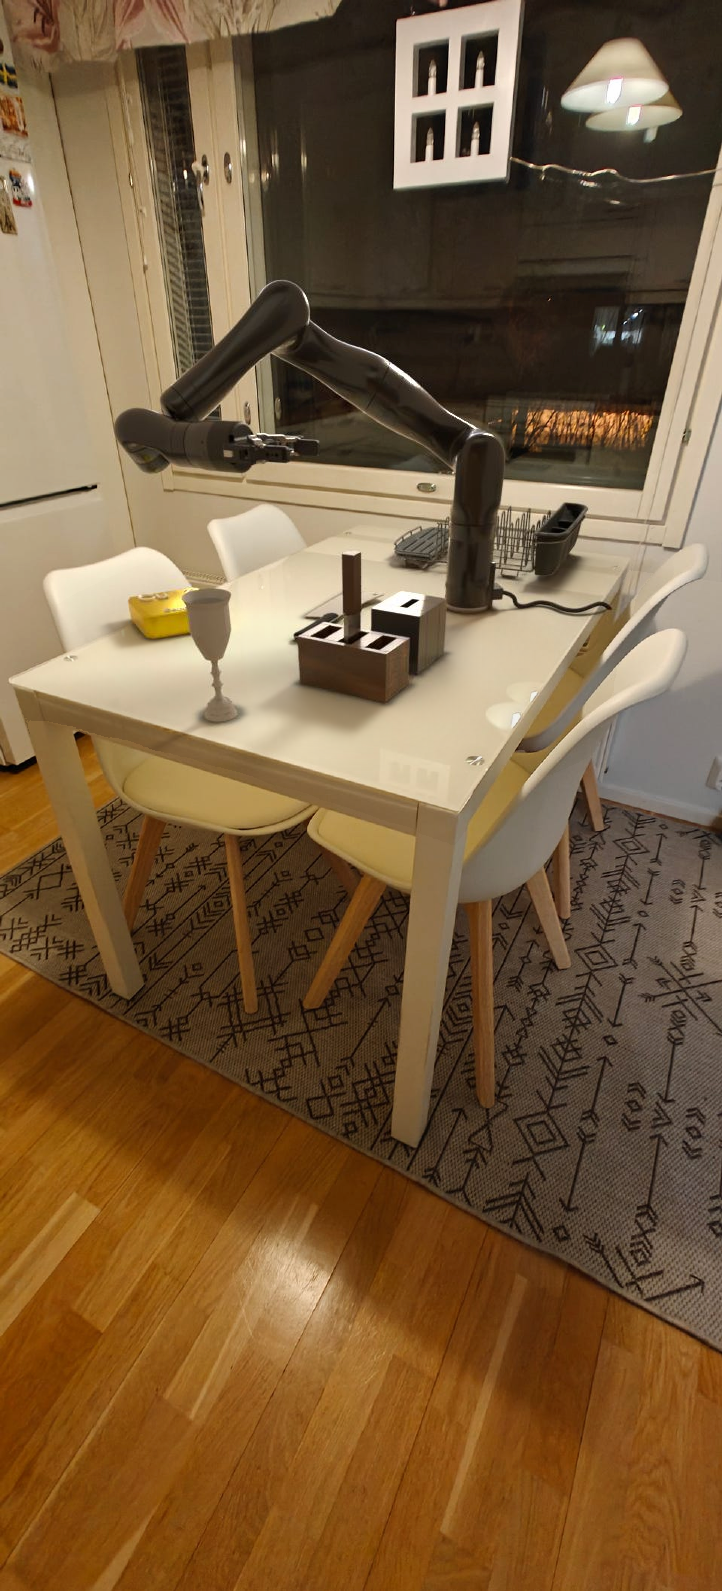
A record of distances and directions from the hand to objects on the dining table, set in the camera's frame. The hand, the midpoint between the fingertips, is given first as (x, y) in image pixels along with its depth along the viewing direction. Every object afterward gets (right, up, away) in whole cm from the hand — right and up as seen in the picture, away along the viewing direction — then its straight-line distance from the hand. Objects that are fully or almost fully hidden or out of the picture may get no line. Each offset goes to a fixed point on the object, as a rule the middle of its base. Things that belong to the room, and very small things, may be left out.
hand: (304, 451), depth 110 cm
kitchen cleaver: (+3, -16, +37) cm, 41 cm away
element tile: (-28, -18, +34) cm, 48 cm away
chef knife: (+7, -34, +8) cm, 36 cm away
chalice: (-13, -40, -1) cm, 42 cm away
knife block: (+17, -28, +17) cm, 37 cm away
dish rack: (+40, +8, +75) cm, 85 cm away
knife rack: (+7, -34, +8) cm, 36 cm away
